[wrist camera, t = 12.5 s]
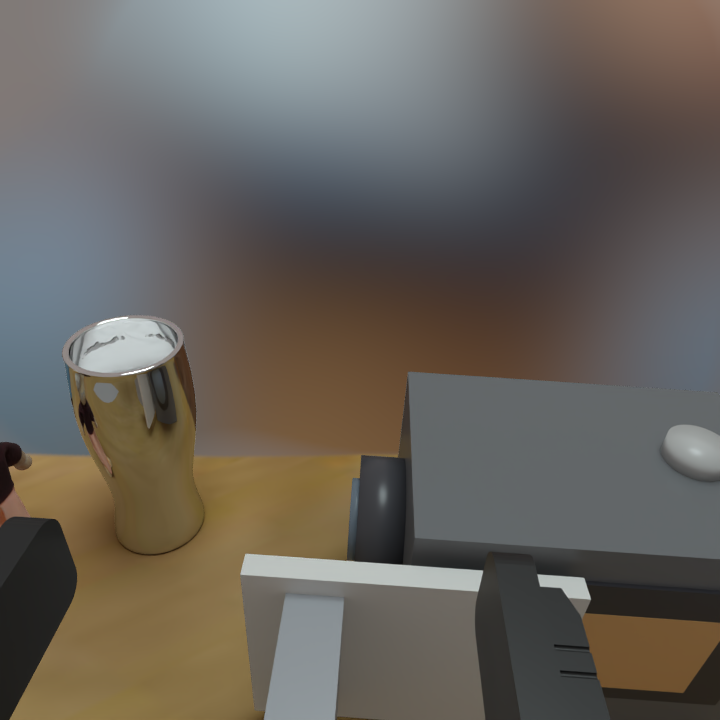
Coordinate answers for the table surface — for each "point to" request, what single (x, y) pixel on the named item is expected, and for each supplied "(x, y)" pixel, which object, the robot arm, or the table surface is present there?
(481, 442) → the box
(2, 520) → the grandmother figurine
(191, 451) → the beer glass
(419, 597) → the side door
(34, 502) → the table surface
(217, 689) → the table surface
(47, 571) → the robot arm
